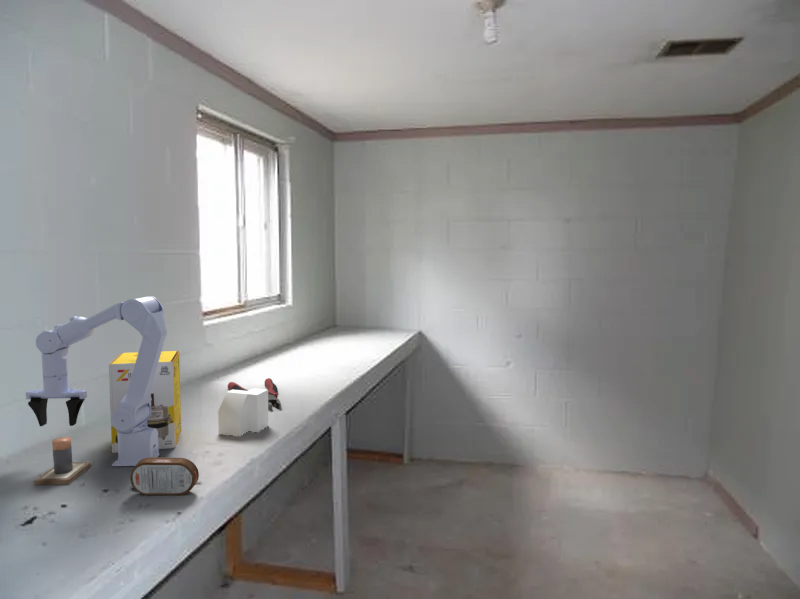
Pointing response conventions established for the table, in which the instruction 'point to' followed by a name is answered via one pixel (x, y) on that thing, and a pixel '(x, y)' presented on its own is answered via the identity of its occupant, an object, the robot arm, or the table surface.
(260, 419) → the corner bracket
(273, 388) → the pliers
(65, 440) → the gray and tan capsule
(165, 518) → the table surface
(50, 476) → the brown picture frame
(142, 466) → the tin
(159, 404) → the packaging box
